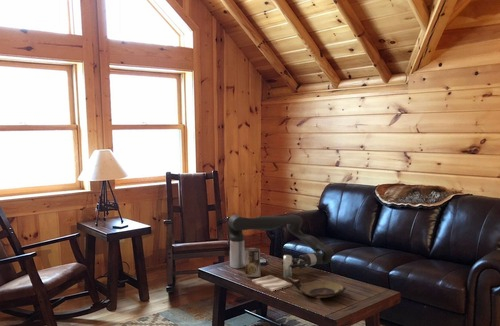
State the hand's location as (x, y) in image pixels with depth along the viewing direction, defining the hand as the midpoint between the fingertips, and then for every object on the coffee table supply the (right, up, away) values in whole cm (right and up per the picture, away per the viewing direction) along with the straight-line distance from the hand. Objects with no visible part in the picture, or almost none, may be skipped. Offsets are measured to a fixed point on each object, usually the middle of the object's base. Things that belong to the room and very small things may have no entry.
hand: (287, 265), depth 257 cm
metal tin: (0, -8, +1) cm, 8 cm away
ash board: (-10, -8, -10) cm, 16 cm away
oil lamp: (+14, -10, -26) cm, 31 cm away
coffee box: (-20, -8, +6) cm, 22 cm away
